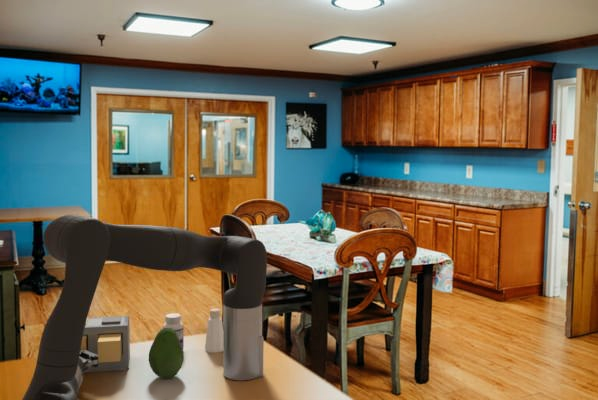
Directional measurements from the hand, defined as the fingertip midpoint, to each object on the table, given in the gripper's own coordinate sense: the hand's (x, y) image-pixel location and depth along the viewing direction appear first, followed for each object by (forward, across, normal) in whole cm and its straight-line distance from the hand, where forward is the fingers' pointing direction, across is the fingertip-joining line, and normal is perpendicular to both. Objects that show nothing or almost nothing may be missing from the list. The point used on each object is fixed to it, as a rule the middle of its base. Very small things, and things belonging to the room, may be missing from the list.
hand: (74, 349), depth 139 cm
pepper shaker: (+12, -34, +7) cm, 37 cm away
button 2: (+1, -8, +3) cm, 8 cm away
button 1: (+4, 0, +2) cm, 5 cm away
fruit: (-5, -21, +7) cm, 23 cm away
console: (+6, -4, +6) cm, 10 cm away
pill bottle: (+13, -23, +7) cm, 27 cm away
